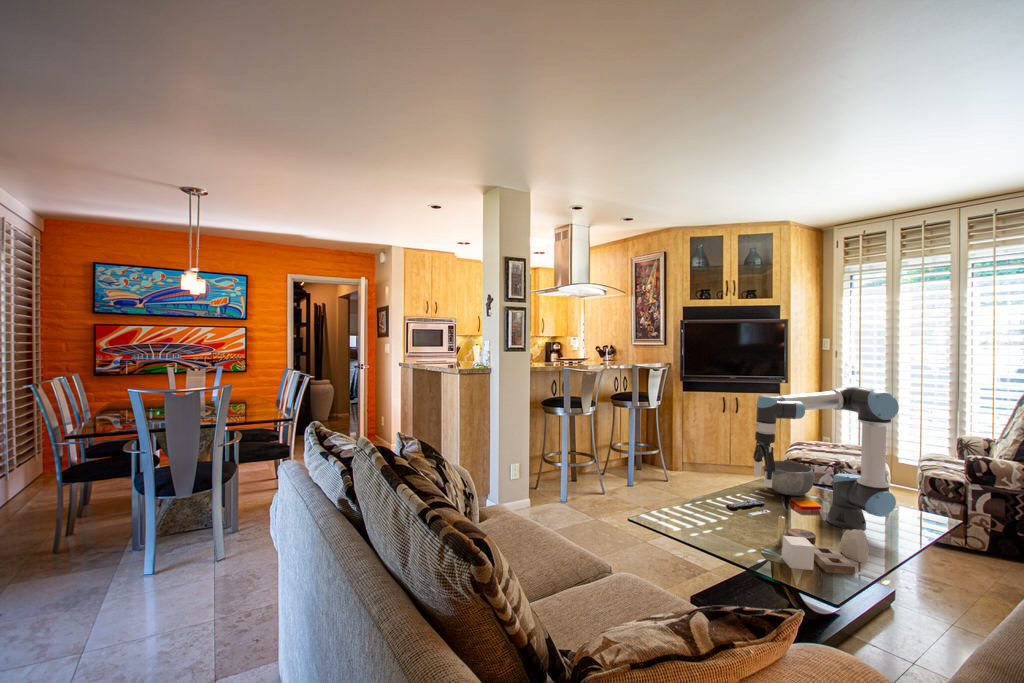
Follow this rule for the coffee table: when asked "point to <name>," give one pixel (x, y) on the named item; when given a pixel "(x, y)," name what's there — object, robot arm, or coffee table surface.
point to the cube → (798, 552)
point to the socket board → (832, 560)
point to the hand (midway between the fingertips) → (762, 481)
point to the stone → (855, 545)
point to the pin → (781, 530)
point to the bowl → (792, 478)
